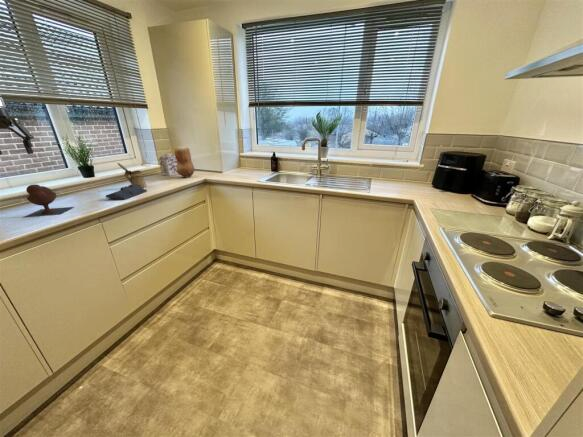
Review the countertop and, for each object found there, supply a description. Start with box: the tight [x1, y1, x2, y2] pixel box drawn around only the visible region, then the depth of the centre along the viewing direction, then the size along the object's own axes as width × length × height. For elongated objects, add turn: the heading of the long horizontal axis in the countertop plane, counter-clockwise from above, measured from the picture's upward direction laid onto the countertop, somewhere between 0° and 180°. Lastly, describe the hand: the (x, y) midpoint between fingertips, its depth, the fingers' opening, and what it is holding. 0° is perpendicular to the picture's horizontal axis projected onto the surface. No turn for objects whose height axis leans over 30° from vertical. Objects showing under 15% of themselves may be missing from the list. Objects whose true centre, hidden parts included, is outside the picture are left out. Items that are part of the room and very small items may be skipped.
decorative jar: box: [158, 152, 179, 177], centre depth 208 cm, size 12×12×18 cm
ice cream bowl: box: [25, 184, 57, 214], centre depth 121 cm, size 11×11×15 cm
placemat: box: [22, 206, 75, 219], centre depth 124 cm, size 16×14×1 cm
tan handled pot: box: [116, 162, 147, 189], centre depth 167 cm, size 9×14×18 cm, turn 119°
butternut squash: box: [173, 145, 195, 178], centre depth 195 cm, size 14×13×25 cm
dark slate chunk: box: [105, 183, 148, 200], centre depth 152 cm, size 15×22×5 cm
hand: (15, 154), depth 120 cm, fingers open, 13 cm apart
